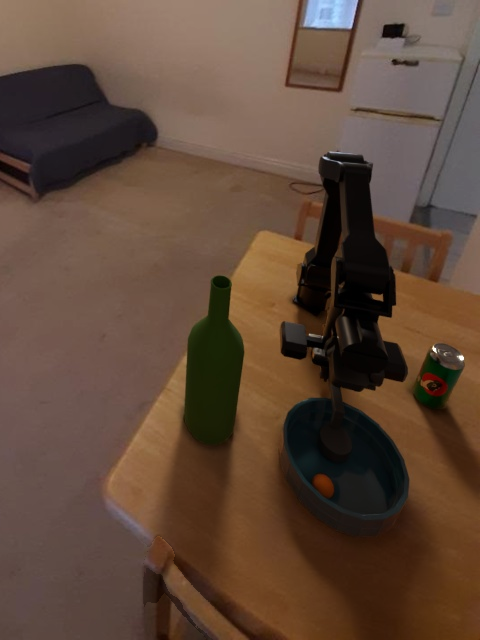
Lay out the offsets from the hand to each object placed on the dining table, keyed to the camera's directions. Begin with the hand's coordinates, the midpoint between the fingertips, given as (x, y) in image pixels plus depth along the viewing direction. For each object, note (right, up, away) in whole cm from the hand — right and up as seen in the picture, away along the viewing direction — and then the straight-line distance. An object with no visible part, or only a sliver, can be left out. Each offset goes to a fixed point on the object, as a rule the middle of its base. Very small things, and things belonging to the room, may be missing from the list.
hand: (330, 381), depth 72 cm
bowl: (-3, -10, -7) cm, 13 cm away
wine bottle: (-22, -7, +1) cm, 23 cm away
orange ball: (-7, -10, -11) cm, 16 cm away
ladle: (-1, -5, -1) cm, 5 cm away
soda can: (+20, -5, +3) cm, 20 cm away
